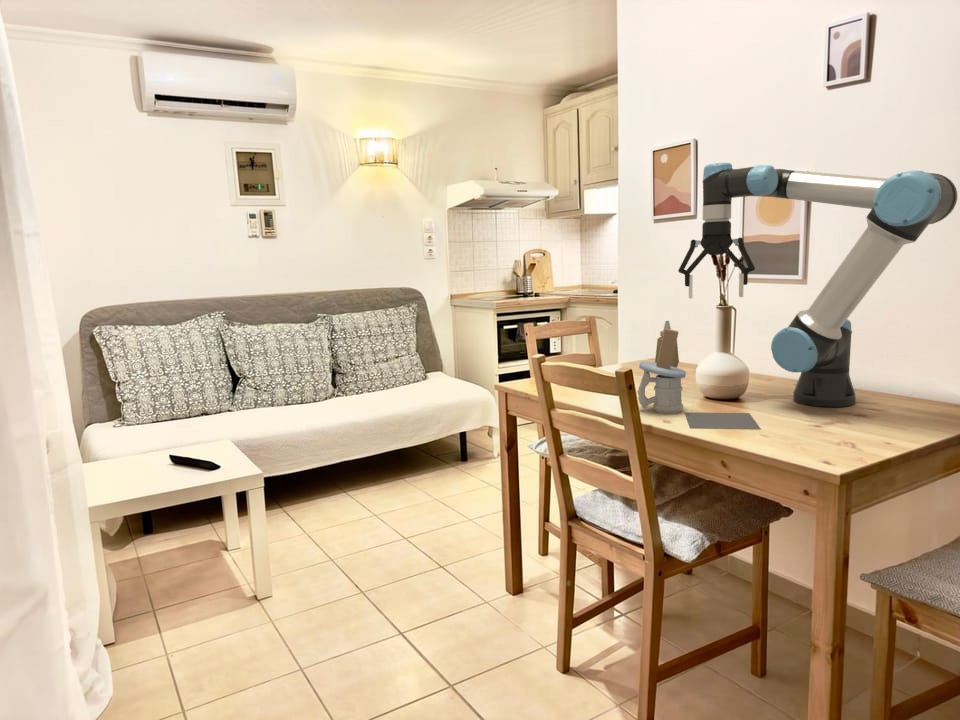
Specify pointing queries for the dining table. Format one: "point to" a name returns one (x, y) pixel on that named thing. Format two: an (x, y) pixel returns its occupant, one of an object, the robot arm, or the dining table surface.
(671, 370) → the lid
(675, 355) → the squeeze bottle
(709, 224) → the robot arm
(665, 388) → the mug
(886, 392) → the dining table surface
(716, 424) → the mat
